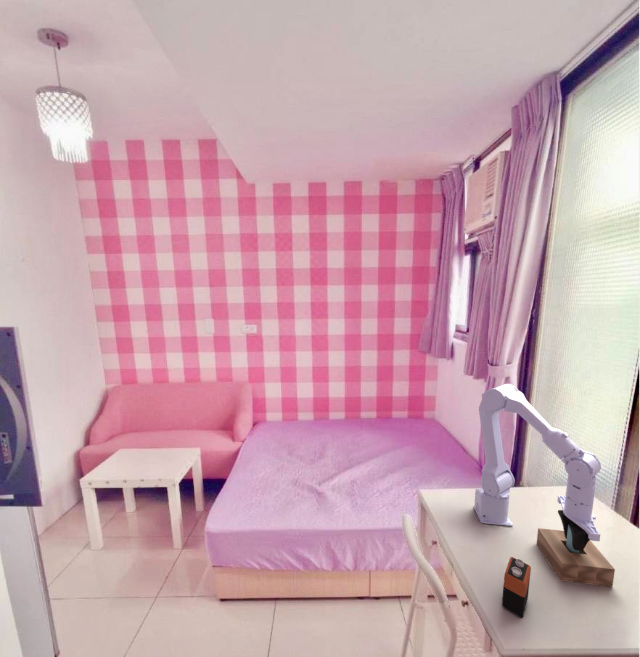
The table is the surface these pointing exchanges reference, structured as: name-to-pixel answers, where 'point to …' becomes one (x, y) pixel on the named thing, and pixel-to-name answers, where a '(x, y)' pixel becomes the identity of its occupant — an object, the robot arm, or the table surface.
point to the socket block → (575, 560)
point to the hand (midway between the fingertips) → (573, 544)
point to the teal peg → (570, 542)
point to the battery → (516, 586)
